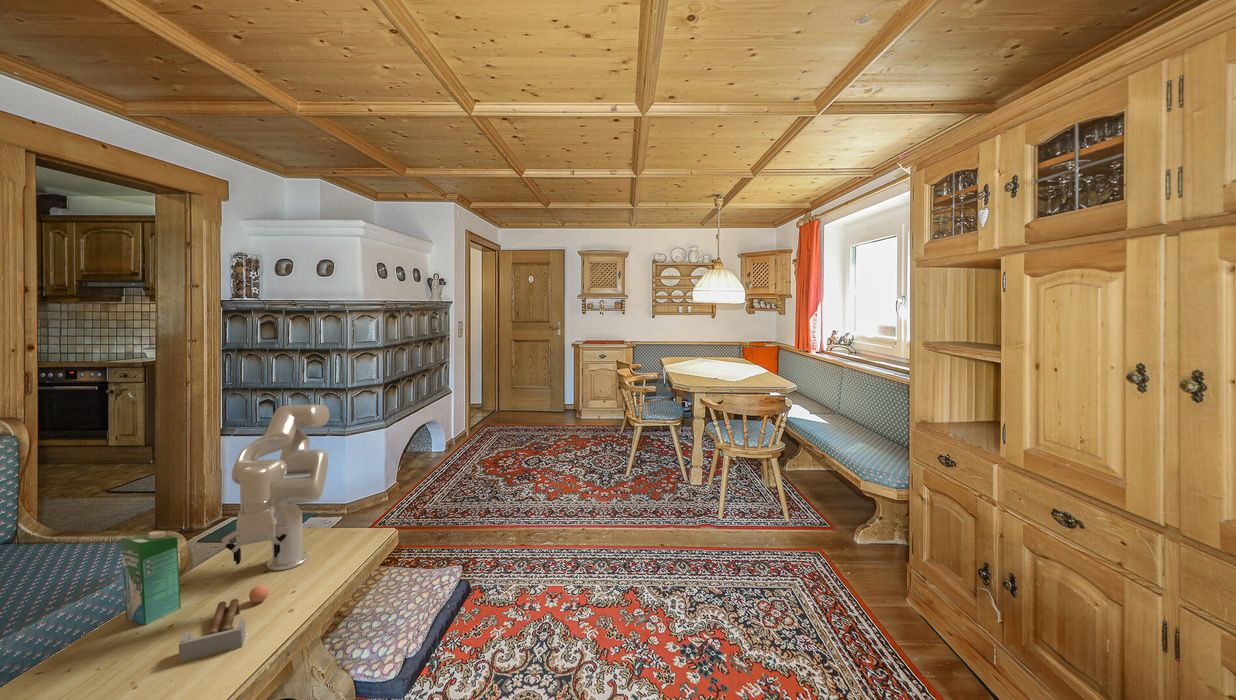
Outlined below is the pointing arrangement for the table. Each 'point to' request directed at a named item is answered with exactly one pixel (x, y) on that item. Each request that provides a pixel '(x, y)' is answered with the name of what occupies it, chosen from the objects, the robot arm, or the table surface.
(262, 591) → the ball
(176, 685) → the table surface
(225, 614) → the brown piece
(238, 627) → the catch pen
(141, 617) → the milk carton
